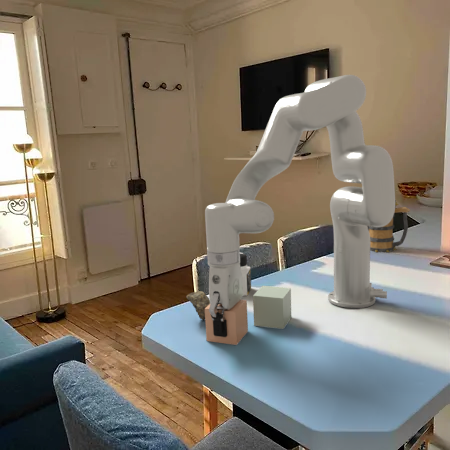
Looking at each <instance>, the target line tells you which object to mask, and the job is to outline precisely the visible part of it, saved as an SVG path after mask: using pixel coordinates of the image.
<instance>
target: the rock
mask: <svg viewBox="0 0 450 450" xmlns="http://www.w3.org/2000/svg"><path fill="white" fill-rule="evenodd" d="M186 299H187V300H188V301H189V302H190V303H191V304H192V306H193V308H194V309H195V311H196V314H197V316H198V318H199V319H200V320H202V321H204V322H205V308H206V307H207V306H208V305H209V304H210V299H209V297H208V295H206V293H205V292H204V291H200V290H199V291H198V290H197V291H195V292H190V293H188V294H187V295H186Z"/></svg>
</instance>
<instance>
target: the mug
mask: <svg viewBox="0 0 450 450" xmlns="http://www.w3.org/2000/svg"><path fill="white" fill-rule="evenodd" d="M398 205H399V203H398V202H397V200H396V199H395V212H394V215H393V218H392V220H391V221H390V222H389V223H388V224H387V225H385V226H383V227H371V226H367V227H368V230H369V234H370V252H376V253H390V252H393V251H397V250H398V249H396V247H398V246H401V245H402V244H403V243H404V241H405V239H406V237H407V234H408V230H409V225H408V224H409V223H408V213H409V212H411V209H410V208H408V207H406V206H402V207H397V206H398ZM395 213H402V220H403V232H402V235H401V238H400V240H398V241H395V237H394V234H393V229H394V228H395V224H394V217H396V214H395ZM394 241H395V242H394Z"/></svg>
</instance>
